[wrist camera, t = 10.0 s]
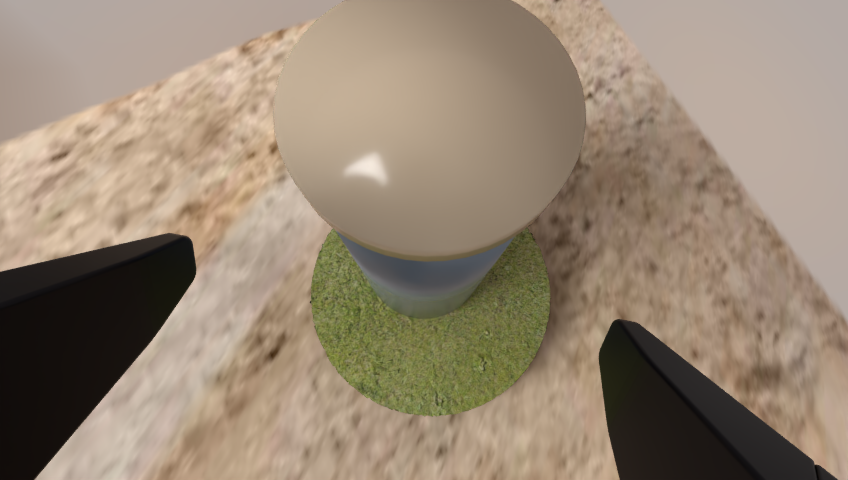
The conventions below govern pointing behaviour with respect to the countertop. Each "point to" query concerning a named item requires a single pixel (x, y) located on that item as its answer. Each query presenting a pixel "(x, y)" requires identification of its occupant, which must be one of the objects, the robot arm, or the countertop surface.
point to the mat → (432, 333)
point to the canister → (428, 137)
